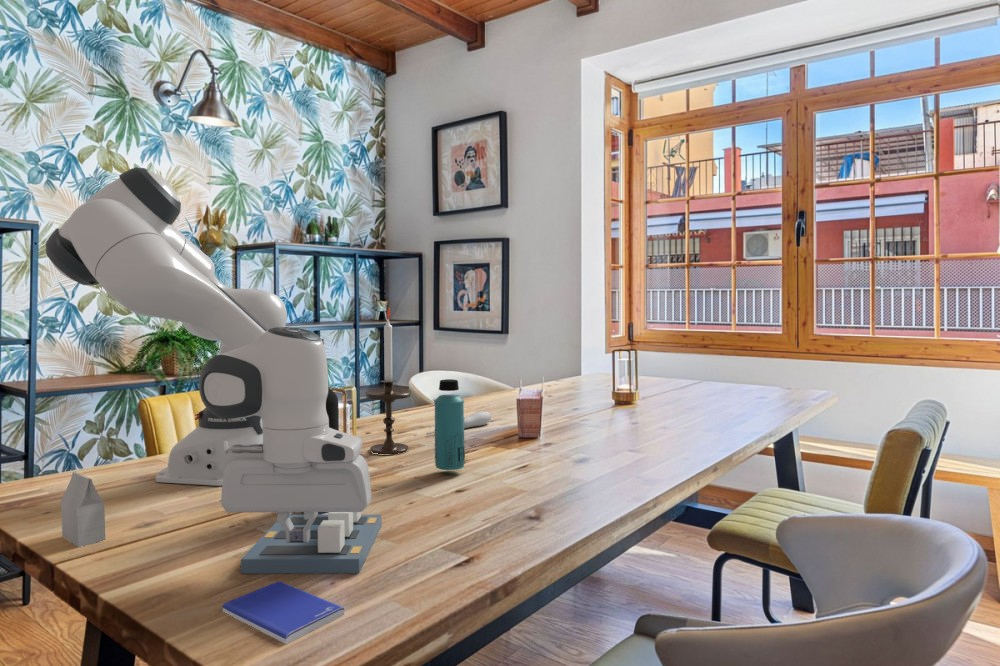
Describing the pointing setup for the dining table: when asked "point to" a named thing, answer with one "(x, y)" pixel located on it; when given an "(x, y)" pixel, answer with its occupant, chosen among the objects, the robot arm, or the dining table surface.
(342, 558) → the switch board
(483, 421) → the screwdriver
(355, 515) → the tab
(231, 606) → the hard drive
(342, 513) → the tab
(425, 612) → the dining table surface
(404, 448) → the candlestick
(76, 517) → the grey gabled box
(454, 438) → the beverage bottle
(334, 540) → the tab
